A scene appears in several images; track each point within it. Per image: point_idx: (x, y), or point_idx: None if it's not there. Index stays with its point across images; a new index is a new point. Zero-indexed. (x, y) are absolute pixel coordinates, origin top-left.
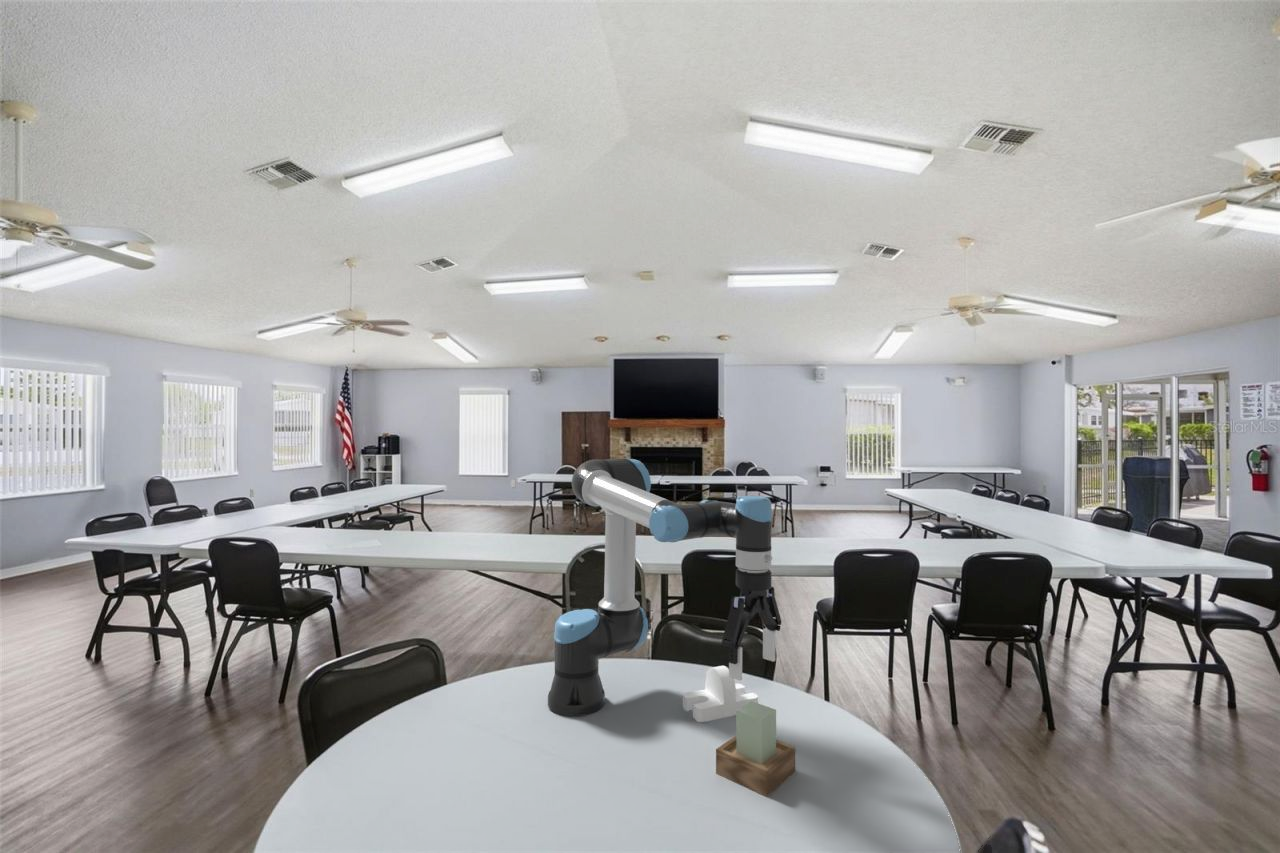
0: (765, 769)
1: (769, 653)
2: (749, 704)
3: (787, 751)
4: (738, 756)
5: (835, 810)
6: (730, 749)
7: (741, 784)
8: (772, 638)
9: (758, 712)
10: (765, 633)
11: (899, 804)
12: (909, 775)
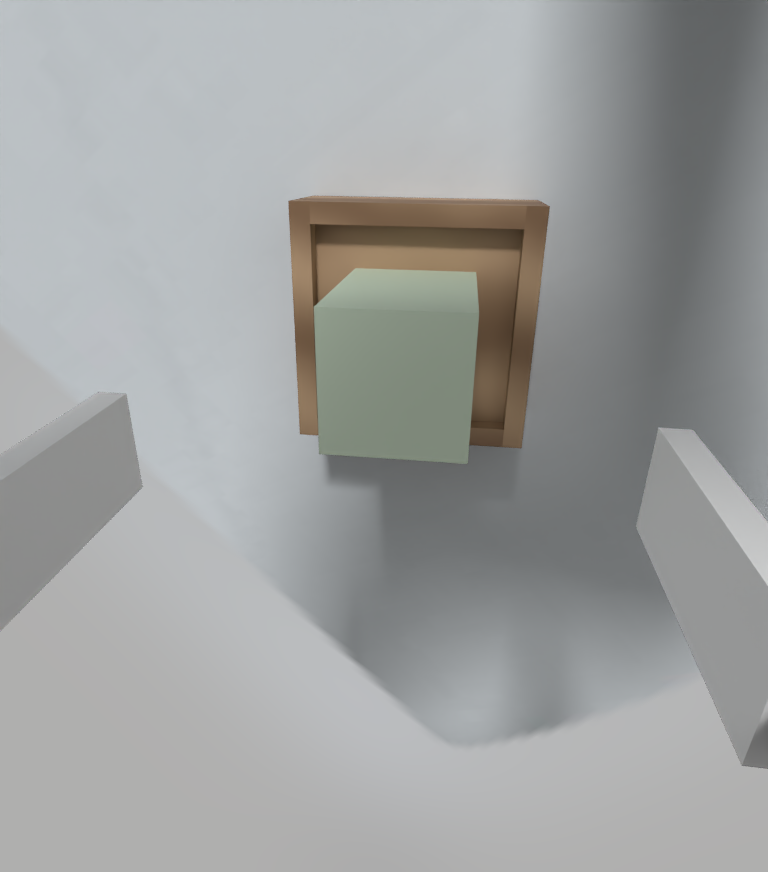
0: (305, 426)
1: (662, 525)
2: (431, 326)
3: (470, 438)
4: (309, 308)
5: (397, 562)
6: (366, 229)
7: None
8: (713, 672)
9: (376, 409)
10: (753, 623)
11: (530, 668)
12: None
